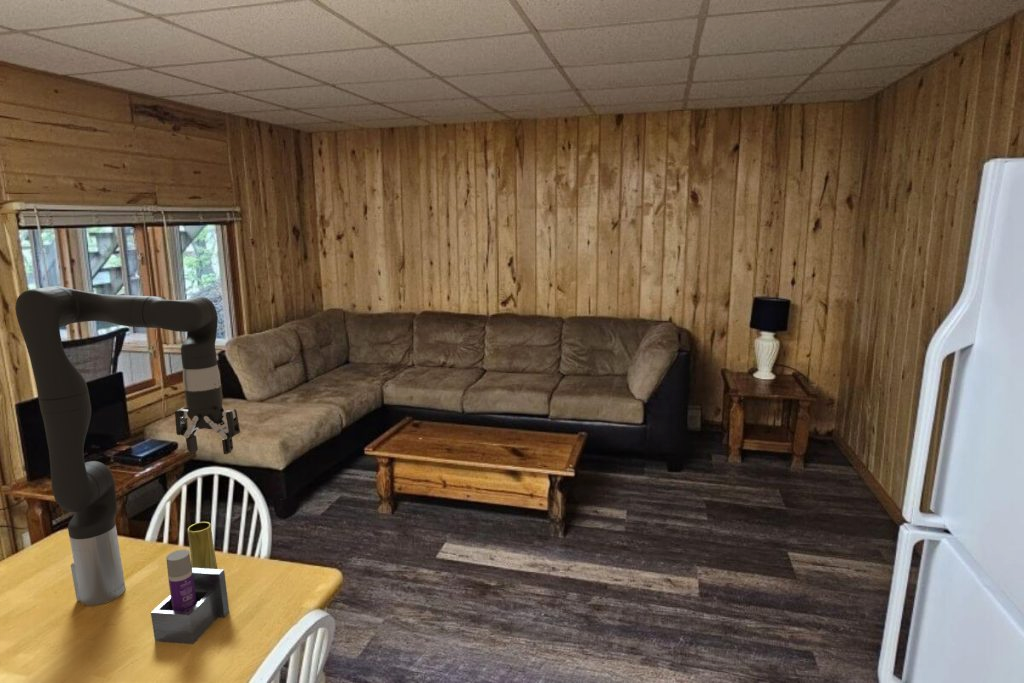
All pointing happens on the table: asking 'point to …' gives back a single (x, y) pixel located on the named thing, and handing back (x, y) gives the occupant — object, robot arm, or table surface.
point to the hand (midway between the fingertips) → (210, 452)
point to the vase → (201, 546)
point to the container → (181, 581)
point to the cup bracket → (193, 609)
